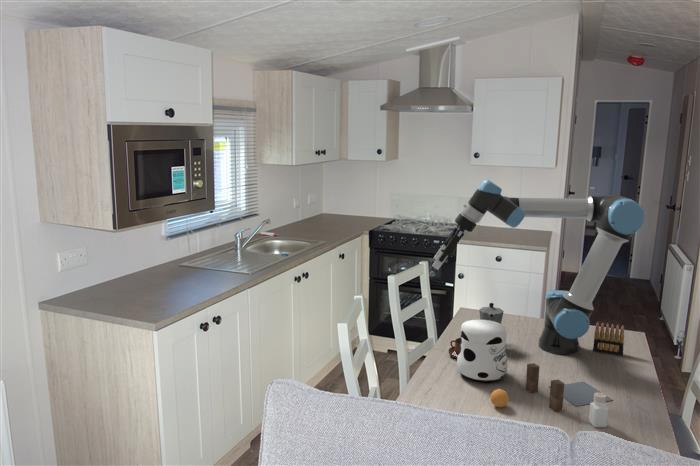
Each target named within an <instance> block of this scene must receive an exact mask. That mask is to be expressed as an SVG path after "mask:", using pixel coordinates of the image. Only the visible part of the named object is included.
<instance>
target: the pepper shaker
mask: <svg viewBox="0 0 700 466" xmlns="http://www.w3.org/2000/svg"><path fill="white" fill-rule="evenodd" d="M606 396H607V395H606V394H605V393H603V392H601V393H599V392H597V393H594V402H592V403H590V404H589V412H588V413H589V414H588V416H589V417H588V422H589V423H590V424H591V425H592V427H594V428H607V426H608V415H609V407H608V406H607V405H606Z"/></svg>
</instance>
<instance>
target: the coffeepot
mask: <svg viewBox="0 0 700 466" xmlns="http://www.w3.org/2000/svg"><path fill="white" fill-rule="evenodd" d="M494 304H495V303H493V302H490V303H489V304H488V306H483V307H481V308H479V309H478V310H479V311H478V312H479V320H490V321H494V322H498V323H500V324H502V321H503V316H504V310H503V309H501V308H500V307H497V306H496V307H495V305H494Z"/></svg>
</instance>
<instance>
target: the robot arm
mask: <svg viewBox="0 0 700 466" xmlns="http://www.w3.org/2000/svg"><path fill="white" fill-rule="evenodd" d="M487 212H488V213H490V214H491V215H493V216H495V217H496V218H498V219H499V220H500V221H502V222H503V223H504V224H505V225H507V226H509V227H511V228H516V227H518V226H519V225H520V224H521V223H522V221H523V220H524V218H538V219H539V218H542V219H543V218H544V219H545V218H547V219H580V220H581V219H584V220H586V221H588V222H597V225H596V230H597V235H596V237H595V240H594V241H593V242H592V245H591V246H590V249H589V252H588V253H587V255H586V257H585V259H584V262H583V263H582V265H581V267H580V269H579V271H578V274H577V275H576V277H575V279H574V281H573V283H572V285H571V287H570V288H569V290H560V289H559V290H557V289H556V290H549V291H547V293H546V297H545V310H544V311H545V312H544V313H545V314H544V326H543V329H542V332H541V335H540V336H539V339H538V347H539V348H540V349H542V350H543V351H545V352H548V353H552V354H557V355H573V354H576V353H578V352H579V351H580V342H579V339H578V338H581V337H583V336H585V334H587V332H588V331H589V329H590V317H591V315H592V314H593V311H594V309H595V308H594V306H593V301H594V300H595V298H596V295H597V293H598V292H599V290H600V287H601V285H602V284H603V282H604V280H605V278H606V276H607V275H608V272H609V270H610V269H611V267H612V265H613V263H614V260H615V259H616V257H617V255H618V253H619V251H620V249H621V247H622V245H623V244H624V243H627V242H628V243H629V242H630V241H631V238H632V237H633V235H634V234H635V233H636V232H638V231H639V230H640V229H642V227H643V225H644V223H645V220H646V217H645V216H646V215H645V212H644V209H643V207H642V206H641V205H640V204H639V203H638V202H637V201H635V200H633V199H631V198H629V197H625V196H622V195H617V194H610V195H589V196H587V198H571V197H570V198H569V197H568V198H564V197H563V198H562V197H561V198H559V197H508V196H503V195H502V188H501V187H500V186H498V185H497V184H496V183H494V182H492V181H491V180H490V179H484V180H483V181H482V182H481V184H480V185H479V186H478V187H477V189H476V190H475V192H474V193H473V195H471V198H470V199H469V200H468V201H467V203H466V204H463V209H462V210H461V213H459V214H458V215H457V217H455V219H454V222H455V223H456V224H457V225H456V227H454V228H453V230H452V232H451V233H450V234H449V236H448V237H447V238H446V239H445V240H444V242H443V244H442V245H441V246H440V248H439V249H438V251H437V252H436V254H434V257H433V259H434V262H433V263H432V265H431V267H433V268H434V269H435V270H437V271H439V269H440V268H441V266H443V265H444V262H445V261H446V259H448V257H449V256H450V255H452V252H453V251H454V249H456V246H457V245H458V243H459V242H460V240H461V239H462V238H464V236H465V231H467V232H469V233H472V232H473V231H474V230H475V228H476V227H477V224H479V223H480V221H481V220H483V217H484V216H485V214H486V213H487Z"/></svg>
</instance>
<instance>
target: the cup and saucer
mask: <svg viewBox="0 0 700 466" xmlns="http://www.w3.org/2000/svg"><path fill="white" fill-rule="evenodd" d="M453 343H454V345H453ZM449 344H450V348H449V349H448V354H449V355H450V356H451V357H453V358H454V359H457V357H456V356H454V355H452V353H453V352H454V351H455V352H456V354H457V355H458V354H459V351H460V345H461V337H457V338H456V339H455V340H451V341H450V343H449Z"/></svg>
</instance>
